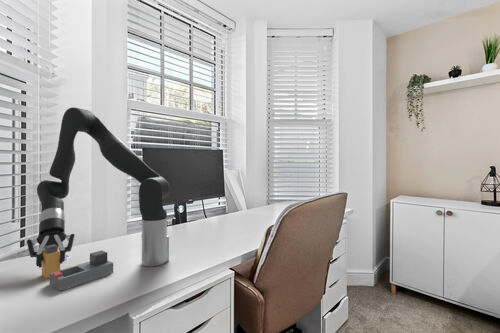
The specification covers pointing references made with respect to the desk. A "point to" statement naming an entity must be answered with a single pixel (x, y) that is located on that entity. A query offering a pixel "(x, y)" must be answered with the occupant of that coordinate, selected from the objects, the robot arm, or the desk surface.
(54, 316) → the desk surface
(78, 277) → the power strip
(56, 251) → the adapter plug
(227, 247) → the desk surface
